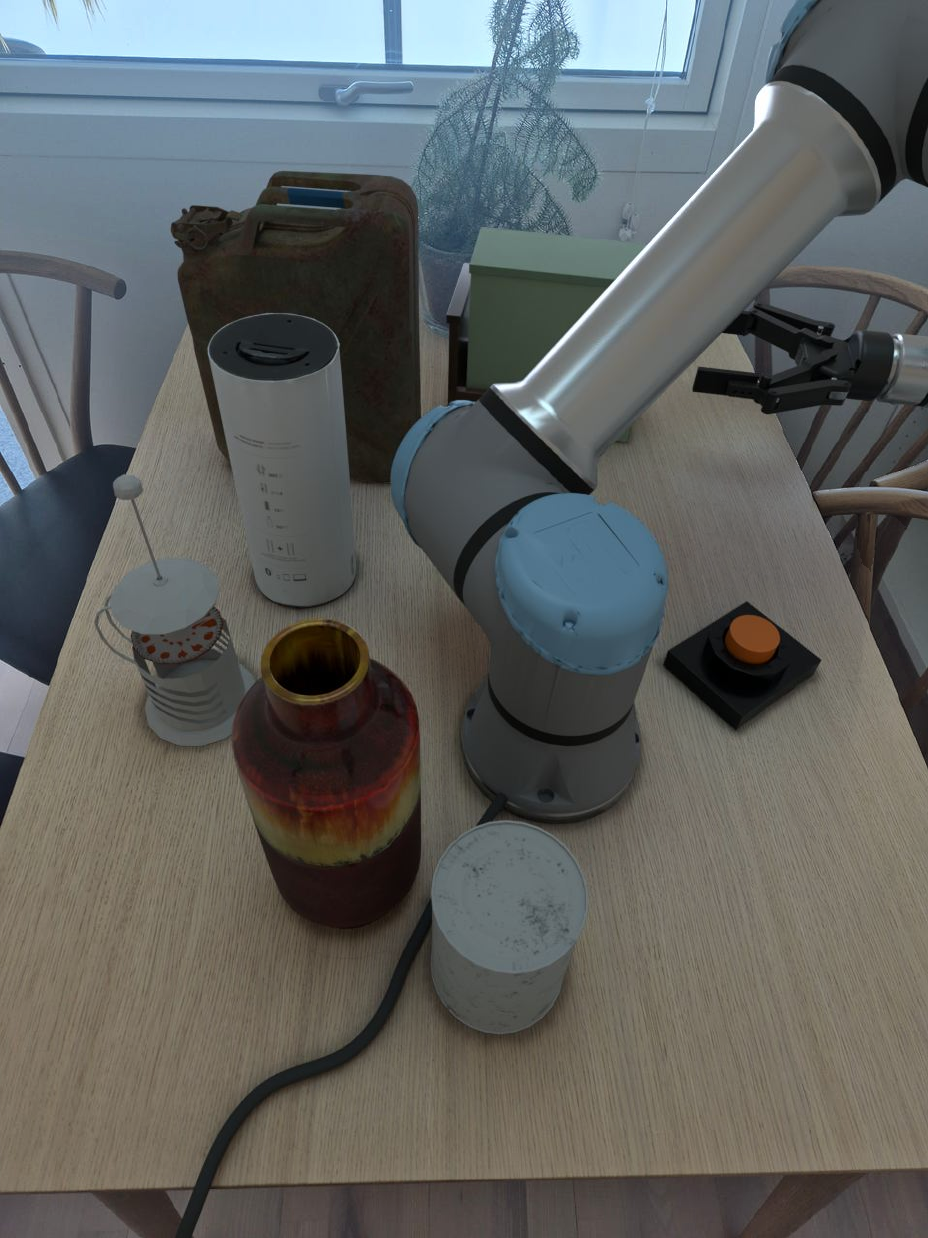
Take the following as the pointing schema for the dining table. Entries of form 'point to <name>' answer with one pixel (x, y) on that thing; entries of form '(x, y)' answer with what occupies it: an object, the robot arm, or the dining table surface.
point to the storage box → (533, 297)
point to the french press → (178, 643)
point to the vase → (332, 774)
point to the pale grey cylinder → (504, 924)
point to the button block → (738, 670)
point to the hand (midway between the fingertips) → (693, 346)
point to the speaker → (288, 453)
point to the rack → (460, 341)
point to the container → (319, 292)
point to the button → (752, 639)
